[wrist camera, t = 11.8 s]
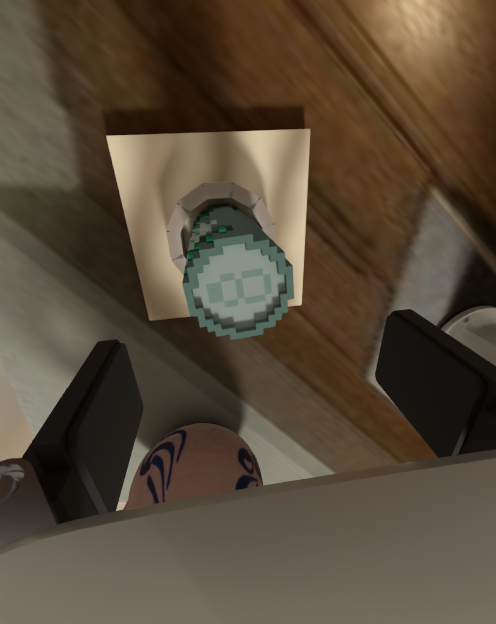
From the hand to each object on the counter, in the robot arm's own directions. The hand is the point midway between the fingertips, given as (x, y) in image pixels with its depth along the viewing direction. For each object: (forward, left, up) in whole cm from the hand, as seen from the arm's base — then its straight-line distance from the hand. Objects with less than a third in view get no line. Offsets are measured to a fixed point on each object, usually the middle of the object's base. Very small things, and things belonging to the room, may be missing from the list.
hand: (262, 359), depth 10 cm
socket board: (0, 0, -23) cm, 23 cm away
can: (0, 0, -22) cm, 22 cm away
